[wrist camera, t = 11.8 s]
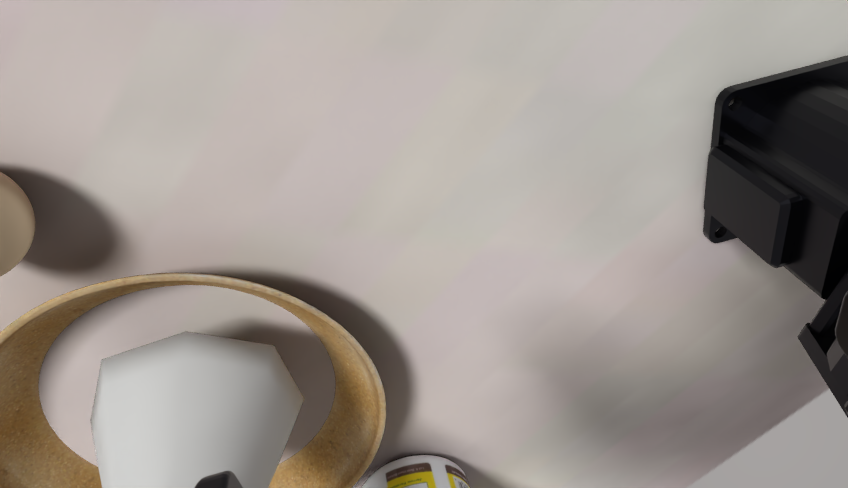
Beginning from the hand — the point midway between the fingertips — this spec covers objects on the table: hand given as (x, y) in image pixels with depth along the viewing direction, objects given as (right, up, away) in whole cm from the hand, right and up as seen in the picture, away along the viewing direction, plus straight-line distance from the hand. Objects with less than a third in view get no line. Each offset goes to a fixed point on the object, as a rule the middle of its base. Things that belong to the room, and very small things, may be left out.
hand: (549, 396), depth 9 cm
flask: (-10, -3, +14) cm, 17 cm away
